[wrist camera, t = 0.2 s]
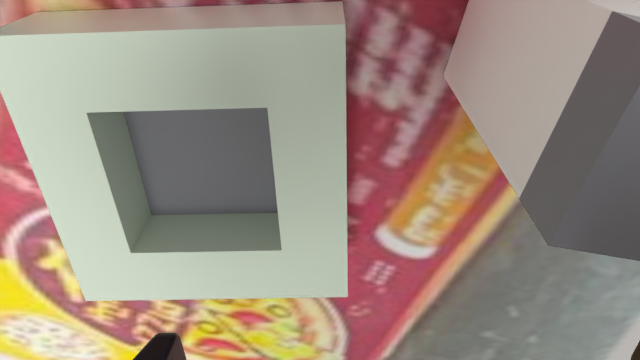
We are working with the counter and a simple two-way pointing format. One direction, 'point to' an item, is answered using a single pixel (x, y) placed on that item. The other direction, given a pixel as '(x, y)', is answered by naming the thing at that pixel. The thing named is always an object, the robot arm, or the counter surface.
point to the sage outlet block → (188, 146)
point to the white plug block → (559, 112)
